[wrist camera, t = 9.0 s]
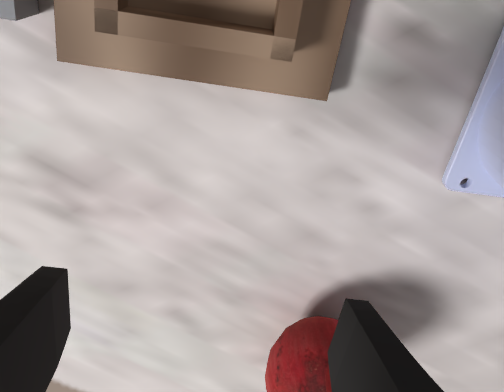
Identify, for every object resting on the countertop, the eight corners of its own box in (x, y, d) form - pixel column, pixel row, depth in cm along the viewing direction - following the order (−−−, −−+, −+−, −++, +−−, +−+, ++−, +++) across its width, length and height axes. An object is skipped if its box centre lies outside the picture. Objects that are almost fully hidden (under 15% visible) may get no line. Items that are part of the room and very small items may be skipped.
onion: (253, 296, 25) (255, 431, 18) (354, 276, 24) (397, 409, 17) (275, 364, 28) (284, 504, 21) (366, 348, 27) (408, 487, 20)
